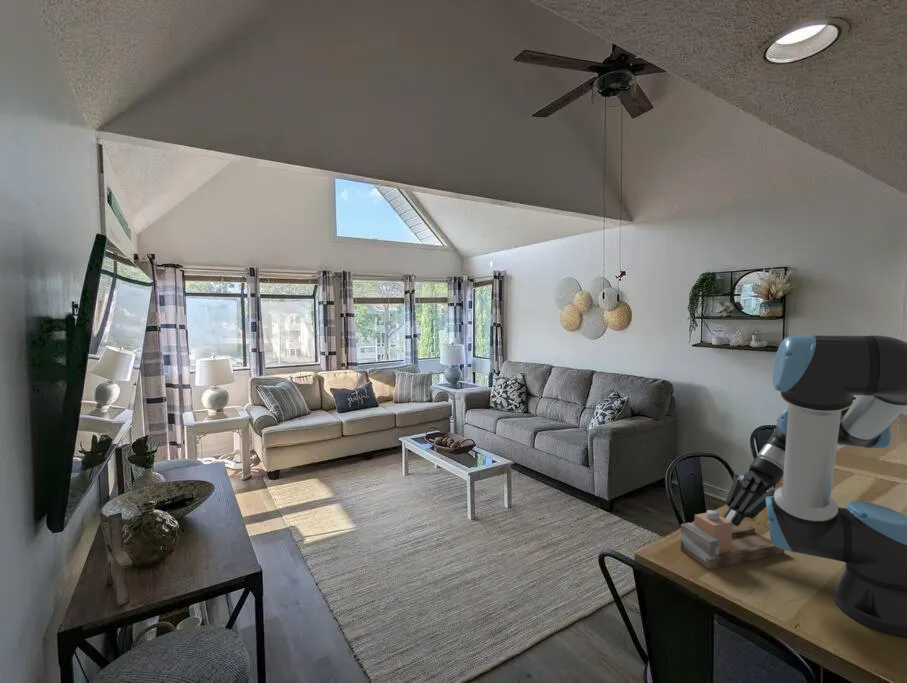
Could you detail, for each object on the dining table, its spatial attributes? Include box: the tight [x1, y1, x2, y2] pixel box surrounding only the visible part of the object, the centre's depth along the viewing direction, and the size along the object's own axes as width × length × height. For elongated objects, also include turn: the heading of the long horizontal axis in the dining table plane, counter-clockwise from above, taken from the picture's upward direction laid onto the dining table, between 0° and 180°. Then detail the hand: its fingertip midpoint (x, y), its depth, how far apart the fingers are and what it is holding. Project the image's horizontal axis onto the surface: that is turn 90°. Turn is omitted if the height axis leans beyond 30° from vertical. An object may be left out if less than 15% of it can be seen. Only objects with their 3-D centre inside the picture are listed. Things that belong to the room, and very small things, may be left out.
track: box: [680, 522, 785, 570], centre depth 122 cm, size 25×10×8 cm, turn 105°
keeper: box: [694, 509, 732, 554], centre depth 120 cm, size 6×6×11 cm
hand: (723, 531), depth 122 cm, fingers closed
